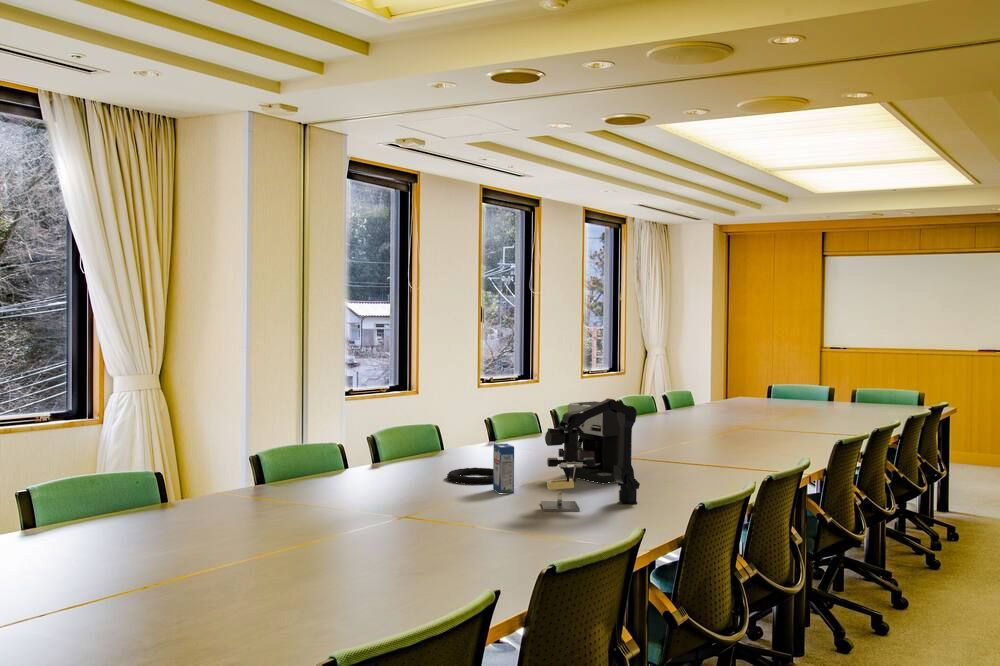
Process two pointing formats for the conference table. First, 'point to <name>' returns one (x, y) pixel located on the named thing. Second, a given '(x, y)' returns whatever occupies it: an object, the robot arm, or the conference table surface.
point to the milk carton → (503, 468)
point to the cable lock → (456, 477)
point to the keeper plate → (559, 508)
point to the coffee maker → (598, 444)
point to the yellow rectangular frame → (560, 484)
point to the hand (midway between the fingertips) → (570, 483)
